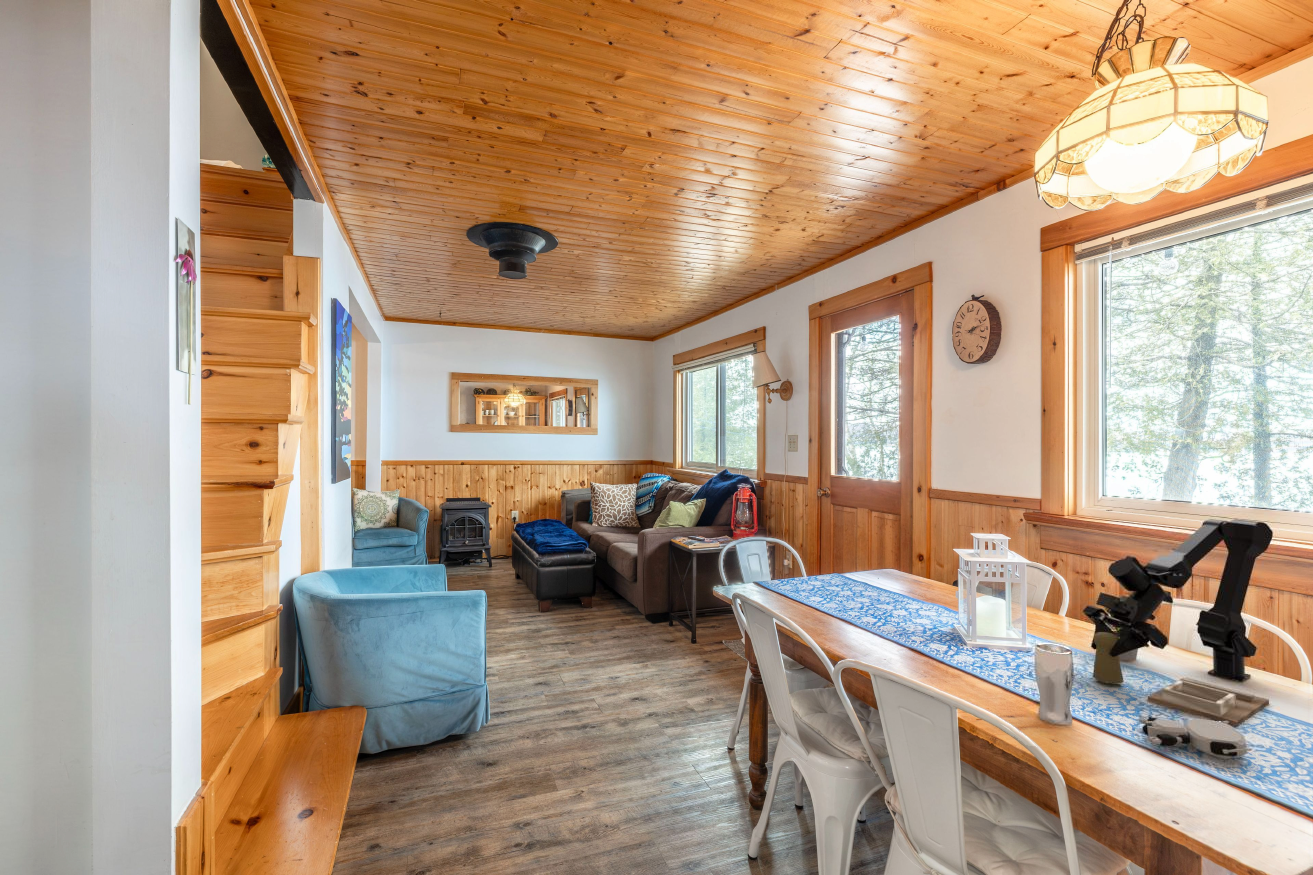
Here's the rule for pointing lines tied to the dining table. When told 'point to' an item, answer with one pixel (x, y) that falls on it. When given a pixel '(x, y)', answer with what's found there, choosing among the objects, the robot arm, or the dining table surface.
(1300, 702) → the dining table surface
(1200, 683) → the assembly jig
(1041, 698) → the beer glass
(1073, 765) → the dining table surface
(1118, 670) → the cork
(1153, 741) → the robot toy
